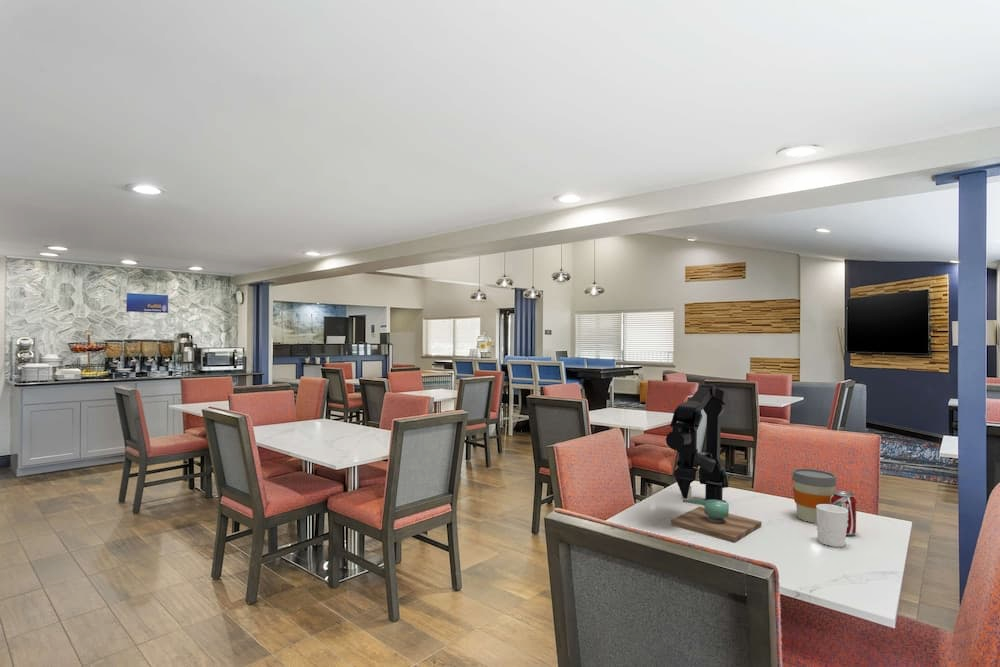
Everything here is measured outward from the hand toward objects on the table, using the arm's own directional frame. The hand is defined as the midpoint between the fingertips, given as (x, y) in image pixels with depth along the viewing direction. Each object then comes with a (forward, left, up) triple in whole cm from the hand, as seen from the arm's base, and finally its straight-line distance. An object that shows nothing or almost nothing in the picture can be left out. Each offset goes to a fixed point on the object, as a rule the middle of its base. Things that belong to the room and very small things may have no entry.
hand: (686, 494), depth 176 cm
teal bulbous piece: (-2, +5, -5) cm, 7 cm away
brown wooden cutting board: (-3, +8, -8) cm, 12 cm away
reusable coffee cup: (-33, +27, -9) cm, 44 cm away
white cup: (-14, +37, -9) cm, 41 cm away
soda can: (-26, +37, -9) cm, 47 cm away
